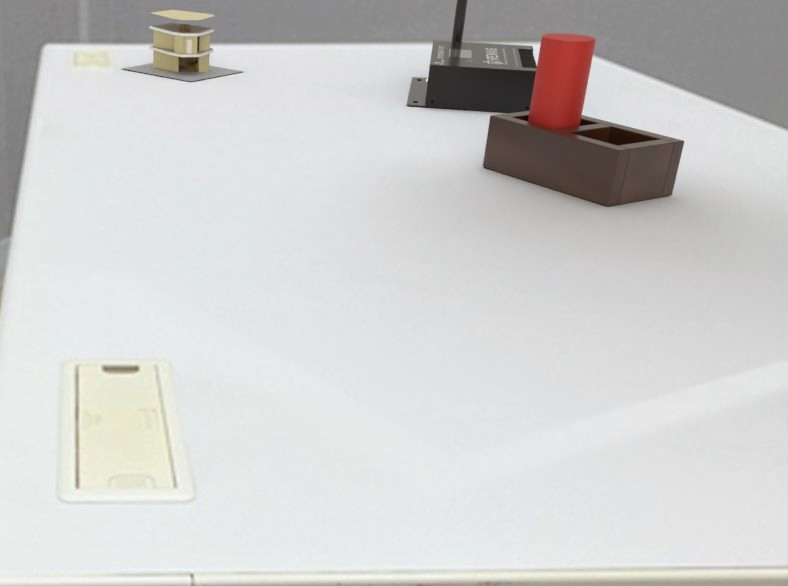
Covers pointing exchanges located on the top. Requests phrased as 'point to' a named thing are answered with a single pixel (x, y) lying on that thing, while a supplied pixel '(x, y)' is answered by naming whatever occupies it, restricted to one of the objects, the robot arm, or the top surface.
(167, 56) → the stacked layers on plate
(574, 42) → the peg
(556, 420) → the top surface
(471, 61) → the wireless controller
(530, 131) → the brown divided tray
